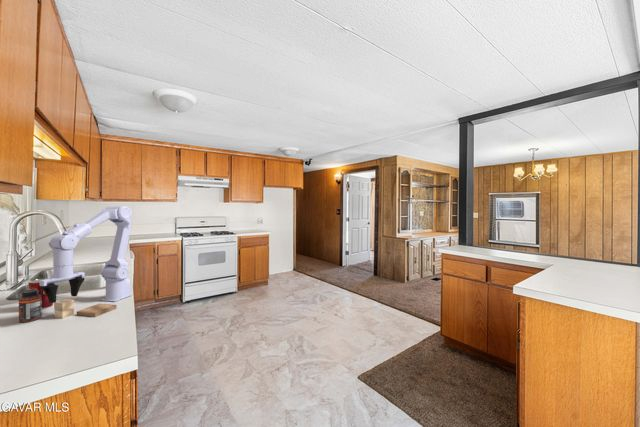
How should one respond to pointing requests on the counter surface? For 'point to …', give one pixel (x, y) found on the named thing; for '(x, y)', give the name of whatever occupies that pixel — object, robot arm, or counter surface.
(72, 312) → the beech block
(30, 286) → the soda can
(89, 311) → the base
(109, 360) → the counter surface
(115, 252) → the robot arm
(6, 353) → the counter surface
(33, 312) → the supplement bottle
